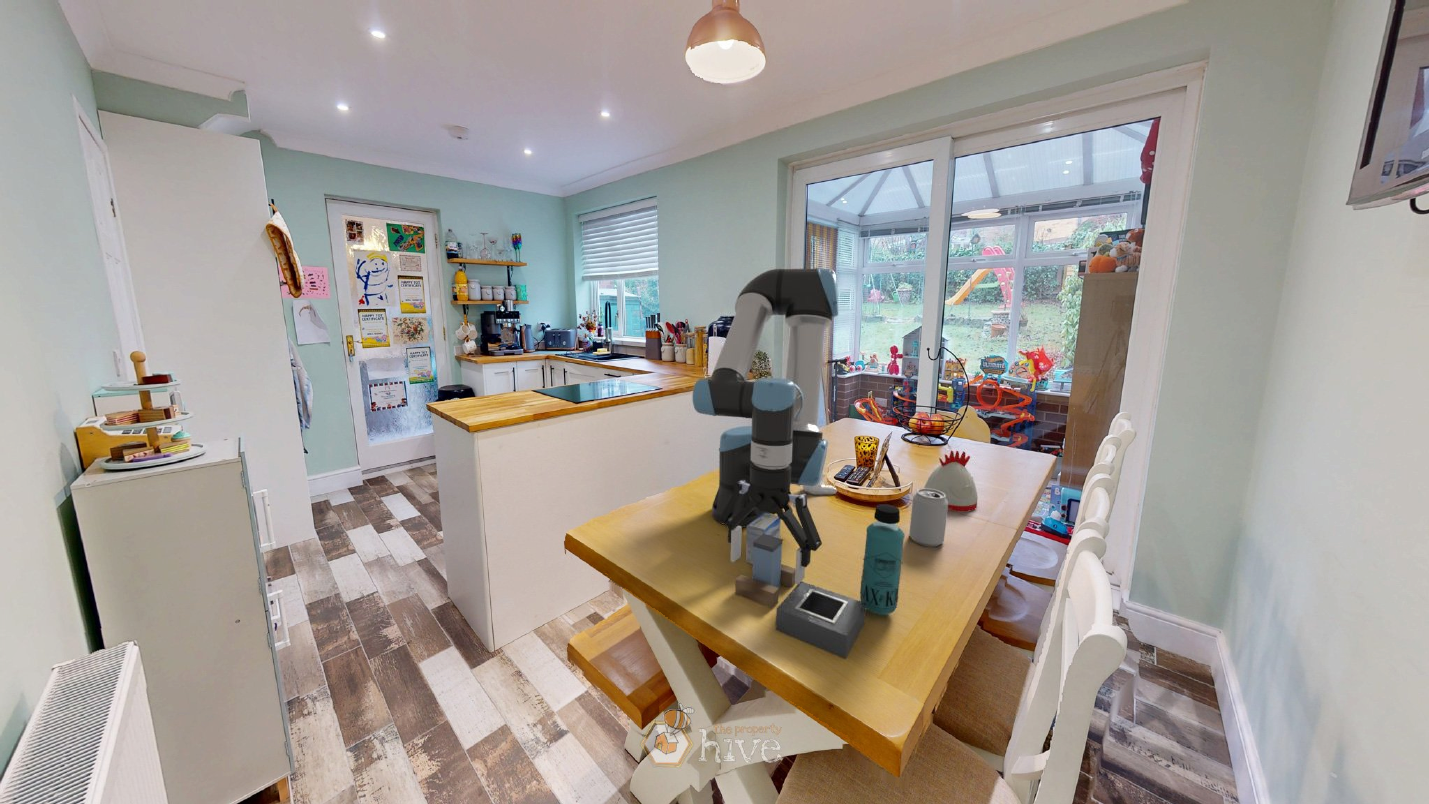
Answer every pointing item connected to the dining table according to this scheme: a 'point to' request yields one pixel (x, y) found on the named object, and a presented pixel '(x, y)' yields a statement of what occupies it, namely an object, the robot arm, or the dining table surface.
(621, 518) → the dining table surface
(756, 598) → the pair of wooden blocks
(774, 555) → the plug
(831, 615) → the port
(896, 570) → the beverage bottle
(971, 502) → the red crested white hat
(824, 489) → the seated beast figurine
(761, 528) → the medicine box
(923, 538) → the can
